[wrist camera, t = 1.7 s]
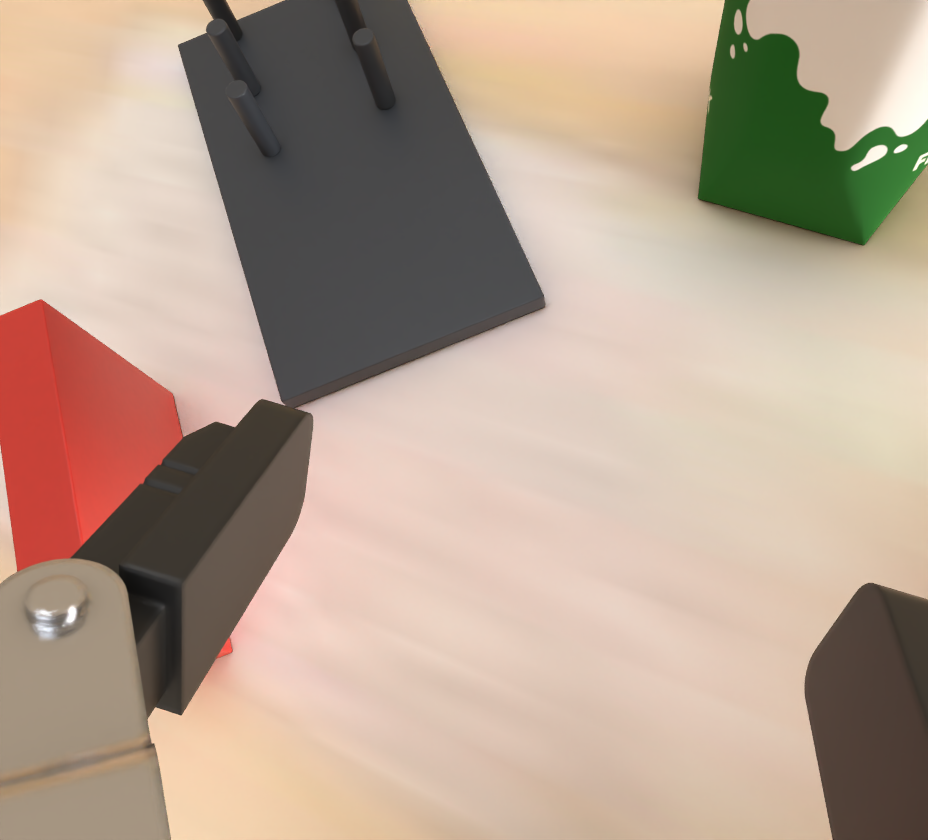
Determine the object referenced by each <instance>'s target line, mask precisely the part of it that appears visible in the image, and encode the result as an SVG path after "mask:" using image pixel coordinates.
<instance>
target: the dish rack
mask: <svg viewBox="0 0 928 840" xmlns="http://www.w3.org/2000/svg"><path fill="white" fill-rule="evenodd" d="M203 1H204V3H205V5H206V7H207V9H208V10H209V12H210V14H211V16H212V17H213V19H214V20H213V21H211V22H210V23H209V24H208V25H207V28H206V32H207V33H205V34H203V35H201V36H198V37H196V38H193V39H191V40H188V41H186V42H184V43H181V44H179V45H178V48H179V51H180V55H181V58H182V61H183V65H184V68H185V72H186V75H187V79H188V82H189V85H190V89H191V92H192V96H193V99H194V103H195V106H196V109H197V113H198V116H199V120H200V123H201V127H202V130H203V133H204V137H205V140H206V144H207V147H208V151H209V154H210V157H211V161H212V164H213V168H214V171H215V175H216V178H217V181H218V185H219V188H220V192H221V195H222V199H223V202H224V205H225V209H226V212H227V216H228V219H229V223H230V226H231V229H232V233H233V236H234V240H235V243H236V247H237V250H238V253H239V257H240V260H241V264H242V267H243V271H244V274H245V277H246V281H247V284H248V288H249V291H250V295H251V298H252V301H253V305H254V308H255V312H256V315H257V319H258V322H259V325H260V329H261V332H262V336H263V339H264V343H265V346H266V349H267V353H268V356H269V360H270V363H271V367H272V370H273V373H274V377H275V380H276V384H277V387H278V391H279V394H280V397H281V401H282V402H283V403H284V404H285V405H286V406H288V407H291V408H294V407H297V406H299V405H302V404H304V403H307V402H309V401H312V400H314V399H317V398H319V397H322V396H324V395H327V394H329V393H332V392H334V391H337V390H339V389H342V388H344V387H347V386H349V385H352V384H354V383H357V382H359V381H362V380H364V379H367V378H369V377H372V376H374V375H376V374H379V373H381V372H384V371H386V370H389V369H391V368H394V367H396V366H399V365H401V364H404V363H406V362H409V361H411V360H414V359H416V358H419V357H421V356H424V355H426V354H429V353H431V352H434V351H436V350H439V349H441V348H444V347H446V346H449V345H451V344H454V343H456V342H459V341H461V340H464V339H466V338H469V337H471V336H474V335H476V334H479V333H481V332H484V331H486V330H488V329H491V328H493V327H496V326H498V325H501V324H503V323H506V322H508V321H511V320H513V319H516V318H518V317H521V316H523V315H526V314H528V313H531V312H533V311H536V310H538V309H541V308H543V307H545V301H544V295H543V293H542V290H541V288H540V286H539V284H538V282H537V280H536V278H535V275H534V273H533V271H532V269H531V267H530V265H529V262H528V260H527V258H526V256H525V254H524V252H523V249H522V247H521V245H520V243H519V241H518V239H517V236H516V234H515V232H514V230H513V228H512V226H511V223H510V221H509V219H508V217H507V215H506V213H505V211H504V208H503V206H502V204H501V202H500V200H499V198H498V195H497V193H496V191H495V189H494V187H493V185H492V182H491V180H490V178H489V176H488V174H487V172H486V169H485V167H484V165H483V163H482V161H481V159H480V156H479V154H478V152H477V150H476V148H475V146H474V144H473V141H472V139H471V137H470V135H469V133H468V131H467V128H466V126H465V124H464V122H463V120H462V118H461V115H460V113H459V111H458V109H457V107H456V105H455V102H454V100H453V98H452V96H451V94H450V92H449V89H448V87H447V85H446V83H445V81H444V79H443V77H442V74H441V72H440V70H439V68H438V66H437V64H436V61H435V59H434V57H433V55H432V53H431V51H430V48H429V46H428V44H427V42H426V40H425V38H424V35H423V33H422V31H421V29H420V27H419V25H418V22H417V20H416V18H415V16H414V14H413V12H412V10H411V7H410V5H409V3H408V1H407V0H285V1H282V2H280V3H277V4H275V5H273V6H270V7H268V8H265V9H263V10H261V11H258V12H256V13H253V14H251V15H249V16H246V17H244V18H241V19H239V20H236V19H235V17H234V15H233V13H232V11H231V9H230V7H229V5H228V3H227V2H226V0H203Z"/></svg>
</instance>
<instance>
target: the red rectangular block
mask: <svg viewBox="0 0 928 840" xmlns="http://www.w3.org/2000/svg"><path fill="white" fill-rule="evenodd" d="M182 438H183V437H182V433H181V428H180V424H179V420H178V415H177V411H176V407H175V403H174V398H173V394H172V393H171V392H170V391H168V390H167V389H165V388H164V387H163V386H161V385H160V384H158V383H157V382H156V381H154V380H153V379H152V378H150V377H149V376H147V375H146V374H145V373H143V372H142V371H140V370H139V369H138V368H136V367H135V366H133V365H132V364H131V363H129V362H128V361H127V360H125V359H124V358H122V357H121V356H120V355H118V354H117V353H115V352H114V351H113V350H111V349H110V348H108V347H107V346H106V345H104V344H103V343H102V342H100V341H99V340H97V339H96V338H95V337H93V336H92V335H90V334H89V333H88V332H86V331H85V330H83V329H82V328H81V327H79V326H78V325H77V324H75V323H74V322H72V321H71V320H70V319H68V318H67V317H65V316H64V315H63V314H61V313H60V312H58V311H57V310H56V309H54V308H53V307H52V306H50V305H49V304H47V303H46V302H45V301H43V300H37V301H35V302H33V303H30V304H28V305H25V306H23V307H20V308H18V309H15V310H13V311H11V312H8V313H6V314H3V315H1V316H0V445H1V452H2V460H3V467H4V475H5V482H6V490H7V497H8V504H9V512H10V519H11V527H12V534H13V542H14V549H15V557H16V564H17V572H18V571H20V570H22V569H25V568H27V567H29V566H32V565H35V564H38V563H41V562H45V561H50V560H56V559H69V558H70V557H71V556H72V555H74V554H75V552H76V551H77V550H78V549H79V548H80V547H81V546H82V545H83V544H84V543H85V542H86V541H87V540H88V539H89V538H90V536H91V535H92V534H93V533H94V532H95V531H96V530H97V529H98V528H99V527H100V526H101V525H102V524H103V523H104V522H105V520H106V519H107V518H108V517H109V516H110V515H111V514H112V513H113V512H114V511H115V510H116V509H117V508H118V507H119V506H120V505H121V503H122V502H123V501H124V500H125V499H126V498H127V497H128V496H129V495H130V494H131V493H132V492H133V491H134V490H135V489H136V487H137V486H138V485H139V484H143V483H144V481H145V478H146V477H147V476H148V475H149V474H150V473H151V471H152V470H153V469H154V468H155V467H156V466H157V465H158V464H159V465H161V463H162V460H163V459H164V458H165V457H166V455H167V454H168V453H169V452H170V451H171V450H172V449H173V448H174V447H175V446H176V445H177V444H178V443H179V442H180V441H181V439H182ZM231 652H232V648H231V643H230V639H229V638H228V640H227V641H226V643H225V645H224V646H223V648H222V649H221V651H220V653H219V654H218V656H217V658H219V657H222V656H224V655H227V654H229V653H231ZM217 658H216V659H217Z"/></svg>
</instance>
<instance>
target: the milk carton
mask: <svg viewBox="0 0 928 840" xmlns="http://www.w3.org/2000/svg"><path fill="white" fill-rule="evenodd" d="M927 164H928V0H725V3H724V9H723V14H722V20H721V25H720V30H719V36H718V41H717V46H716V52H715V58H714V63H713V69H712V75H711V82H710V90H709V99H708V108H707V117H706V127H705V136H704V146H703V155H702V165H701V175H700V185H699V193H698V199H701V200H705V201H708V202H712V203H715V204H719V205H722V206H726V207H729V208H733V209H737V210H740V211H744V212H747V213H751V214H754V215H758V216H762V217H765V218H769V219H772V220H776V221H779V222H783V223H786V224H790V225H794V226H797V227H801V228H804V229H808V230H811V231H815V232H818V233H822V234H826V235H829V236H833V237H836V238H840V239H843V240H847V241H851V242H854V243H858V244H861V245H865V244H866V242H867V241H868V240H869V238H870V237H871V236H872V234H873V233H874V232H875V231H876V229H877V228H878V227H879V226H880V224H881V223H882V222H883V220H884V219H885V218H886V217H887V215H888V214H889V213H890V211H891V210H892V209H893V208H894V206H895V205H896V204H897V203H898V201H899V200H900V199H901V197H902V196H903V195H904V194H905V192H906V191H907V190H908V189H909V187H910V186H911V185H912V184H913V182H914V181H915V180H916V178H917V177H918V176H919V175H920V173H921V172H922V171H923V170H924V168H925V167H926V166H927Z"/></svg>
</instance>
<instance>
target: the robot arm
mask: <svg viewBox="0 0 928 840" xmlns="http://www.w3.org/2000/svg"><path fill="white" fill-rule="evenodd" d="M312 431H313V416H312V414H311V413H308V412H304V411H301V410H298V409H294V408H291V407H288V406H284V405H281V404H277V403H274V402H271V401H267V400H264V399H261V400H259V401H258V402H257V403H256V404H255V405H254V406H253V407H252V408H251V410H250V411H249V412H248V413H247V414H246V415H245V417H244V418H243V419H242V420H241V421H240V422H239V424H238V425H237V426H236V427H232V426H229V425H225V424H222V423H219V422H214V423H212V424H210V425H208V426H206V427H204V428H202V429H200V430H197V431H195V432H193V433H191V434H189V435H187V436H185V437H183V438H182V439H181V441H180V442H179V443H178V444H177V445H176V446H175V447H174V448H173V449H172V450H171V451H170V452H169V453H168V454H167V455H166V457H165V458H164V459H163V460H162V463H161V465H159V464H158V465H157V466H156V467H155V468H154V469H153V470H152V471H151V473H150V474H149V475H148V476H147V477H146V478H145V481H144V483H143V484H139V485H138V486H137V487H136V489H135V490H134V491H133V492H132V493H131V494H130V495H129V496H128V497H127V498H126V499H125V500H124V501H123V502H122V503H121V505H120V506H119V507H118V508H117V509H116V510H115V511H114V512H113V513H112V514H111V515H110V516H109V517H108V518H107V519H106V520H105V522H104V523H103V524H102V525H101V526H100V527H99V528H98V529H97V530H96V531H95V532H94V533H93V534H92V535H91V536H90V538H89V539H88V540H87V541H86V542H85V543H84V544H83V545H82V546H81V547H80V548H79V549H78V550H77V551H76V552H75V554H74V555H72V556H71V557H70V558H69V559H56V560H50V561H45V562H41V563H38V564H35V565H32V566H29V567H27V568H25V569H22V570H20V571H18V572H16V573H15V574H13V575H11V576H10V577H8V578H7V579H6V580H4V581H3V582H2V583H1V584H0V840H171V837H170V830H169V824H168V818H167V811H166V805H165V799H164V793H163V786H162V780H161V774H160V768H159V762H158V757H157V752H156V748H155V745H154V743H153V744H152V743H151V739H150V733H149V727H148V721H147V719H148V717H149V716H150V714H151V713H152V711H153V710H154V708H155V707H157V708H160V709H163V710H166V711H169V712H172V713H175V714H178V715H182V714H183V712H184V710H185V709H186V707H187V705H188V704H189V702H190V701H191V699H192V697H193V696H194V694H195V692H196V691H197V689H198V687H199V686H200V684H201V682H202V681H203V679H204V677H205V676H206V674H207V673H208V671H209V669H210V668H211V666H212V664H213V663H214V661H215V659H216V658H217V656H218V654H219V653H220V651H221V649H222V648H223V646H224V645H225V643H226V641H227V640H228V638H229V636H230V635H231V633H232V631H233V630H234V628H235V626H236V625H237V623H238V621H239V620H240V618H241V617H242V615H243V613H244V612H245V610H246V608H247V607H248V605H249V603H250V602H251V600H252V598H253V597H254V595H255V593H256V592H257V590H258V589H259V587H260V585H261V584H262V582H263V580H264V579H265V577H266V575H267V574H268V572H269V570H270V569H271V567H272V566H273V564H274V562H275V561H276V559H277V557H278V556H279V554H280V552H281V551H282V549H283V547H284V546H285V544H286V542H287V541H288V539H289V538H290V536H291V534H292V532H293V530H294V528H295V526H296V523H297V521H298V518H299V515H300V512H301V509H302V506H303V502H304V497H305V490H306V481H307V473H308V465H309V456H310V448H311V440H312ZM805 699H806V704H807V709H808V714H809V720H810V725H811V730H812V735H813V740H814V745H815V751H816V756H817V761H818V766H819V771H820V776H821V781H822V787H823V792H824V797H825V802H826V807H827V812H828V818H829V823H830V828H831V833H832V838H833V840H928V600H927V599H924V598H921V597H917V596H914V595H911V594H907V593H904V592H901V591H897V590H894V589H891V588H887V587H884V586H881V585H877V584H874V583H867V584H865V585H863V586H862V587H861V588H860V589H858V591H857V592H856V593H855V595H854V596H853V597H852V599H851V600H850V602H849V603H848V604H847V606H846V607H845V609H844V610H843V612H842V613H841V614H840V616H839V617H838V619H837V620H836V621H835V623H834V624H833V626H832V627H831V628H830V630H829V631H828V633H827V634H826V636H825V637H824V638H823V640H822V641H821V643H820V644H819V645H818V647H817V648H816V650H815V651H814V653H813V655H812V657H811V659H810V661H809V664H808V667H807V671H806V676H805Z"/></svg>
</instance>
